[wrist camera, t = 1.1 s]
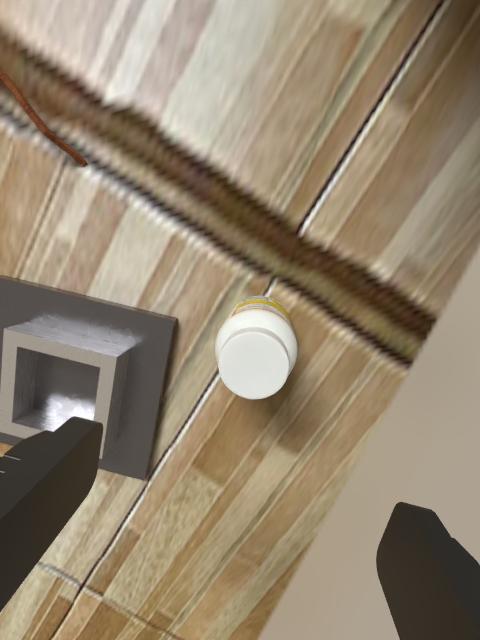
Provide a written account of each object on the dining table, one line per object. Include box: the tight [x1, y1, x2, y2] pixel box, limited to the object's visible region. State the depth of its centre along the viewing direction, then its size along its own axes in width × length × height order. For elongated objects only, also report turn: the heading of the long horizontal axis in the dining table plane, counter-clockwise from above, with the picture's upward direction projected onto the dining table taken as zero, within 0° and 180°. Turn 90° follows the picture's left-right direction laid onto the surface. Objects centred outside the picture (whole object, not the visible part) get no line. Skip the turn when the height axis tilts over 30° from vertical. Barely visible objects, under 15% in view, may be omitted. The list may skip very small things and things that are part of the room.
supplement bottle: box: [215, 296, 297, 399], centre depth 22 cm, size 5×5×10 cm
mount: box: [0, 275, 177, 480], centre depth 27 cm, size 16×16×4 cm
